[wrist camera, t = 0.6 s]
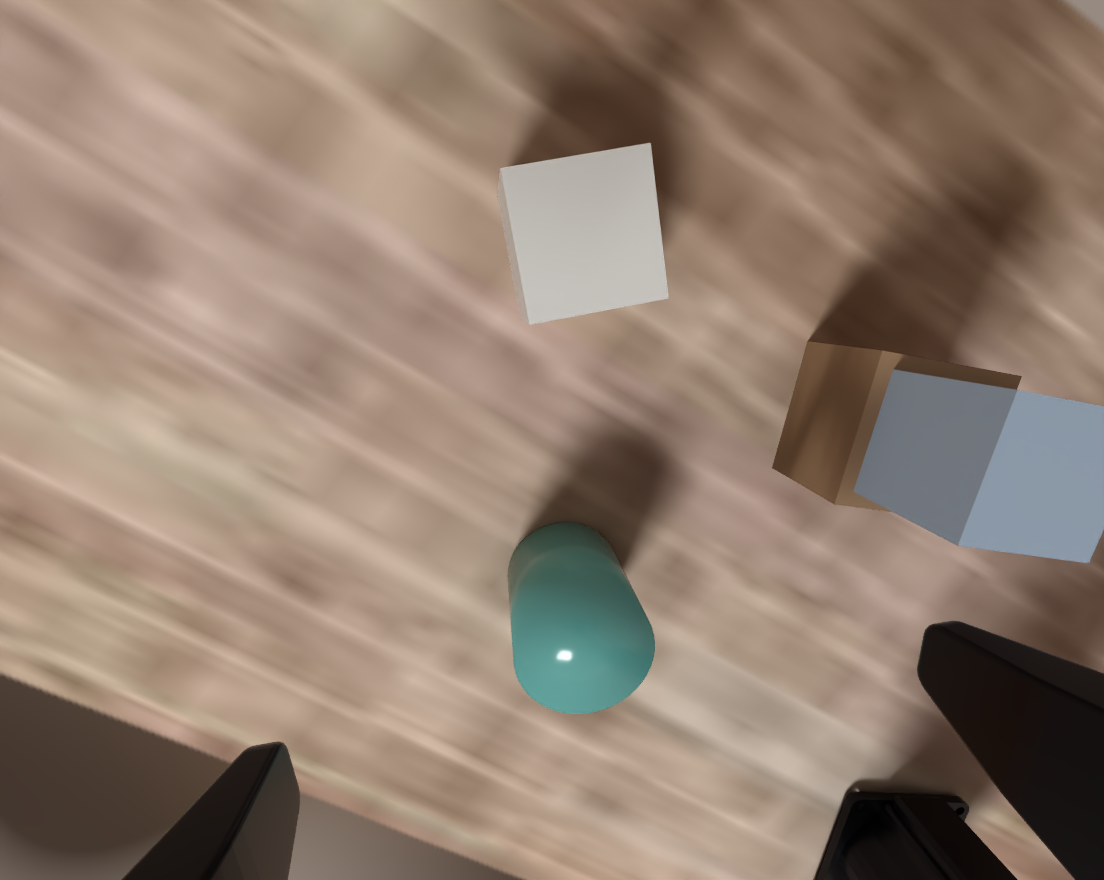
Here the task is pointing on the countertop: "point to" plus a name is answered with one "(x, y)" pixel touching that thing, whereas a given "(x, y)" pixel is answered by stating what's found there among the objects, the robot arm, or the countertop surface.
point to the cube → (583, 233)
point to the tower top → (989, 466)
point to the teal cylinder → (575, 621)
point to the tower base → (849, 413)
